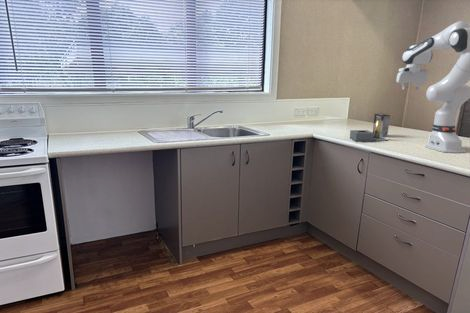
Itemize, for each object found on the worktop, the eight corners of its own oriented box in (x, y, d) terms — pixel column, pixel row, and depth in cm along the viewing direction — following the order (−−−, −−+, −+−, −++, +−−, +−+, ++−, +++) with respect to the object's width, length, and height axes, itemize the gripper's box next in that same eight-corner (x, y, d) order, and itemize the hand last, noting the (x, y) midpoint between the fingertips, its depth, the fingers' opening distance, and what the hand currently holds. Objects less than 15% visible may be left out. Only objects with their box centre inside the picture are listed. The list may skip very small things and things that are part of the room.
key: (378, 137, 240) (380, 120, 236) (380, 138, 236) (383, 121, 233) (372, 136, 240) (375, 120, 236) (374, 138, 236) (377, 121, 232)
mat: (387, 140, 232) (387, 139, 232) (373, 141, 232) (373, 139, 232) (379, 137, 244) (380, 136, 244) (366, 137, 244) (366, 136, 243)
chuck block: (373, 141, 229) (374, 133, 228) (355, 141, 229) (356, 133, 227) (366, 138, 241) (367, 130, 239) (349, 138, 241) (350, 130, 239)
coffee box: (372, 135, 254) (374, 113, 250) (378, 134, 256) (381, 113, 252) (381, 137, 245) (383, 115, 241) (387, 136, 248) (390, 114, 244)
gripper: (425, 69, 238) (422, 89, 241) (396, 69, 237) (394, 89, 241) (430, 69, 231) (427, 89, 235) (400, 69, 231) (398, 89, 235)
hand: (410, 89), depth 238 cm, fingers open, 8 cm apart
